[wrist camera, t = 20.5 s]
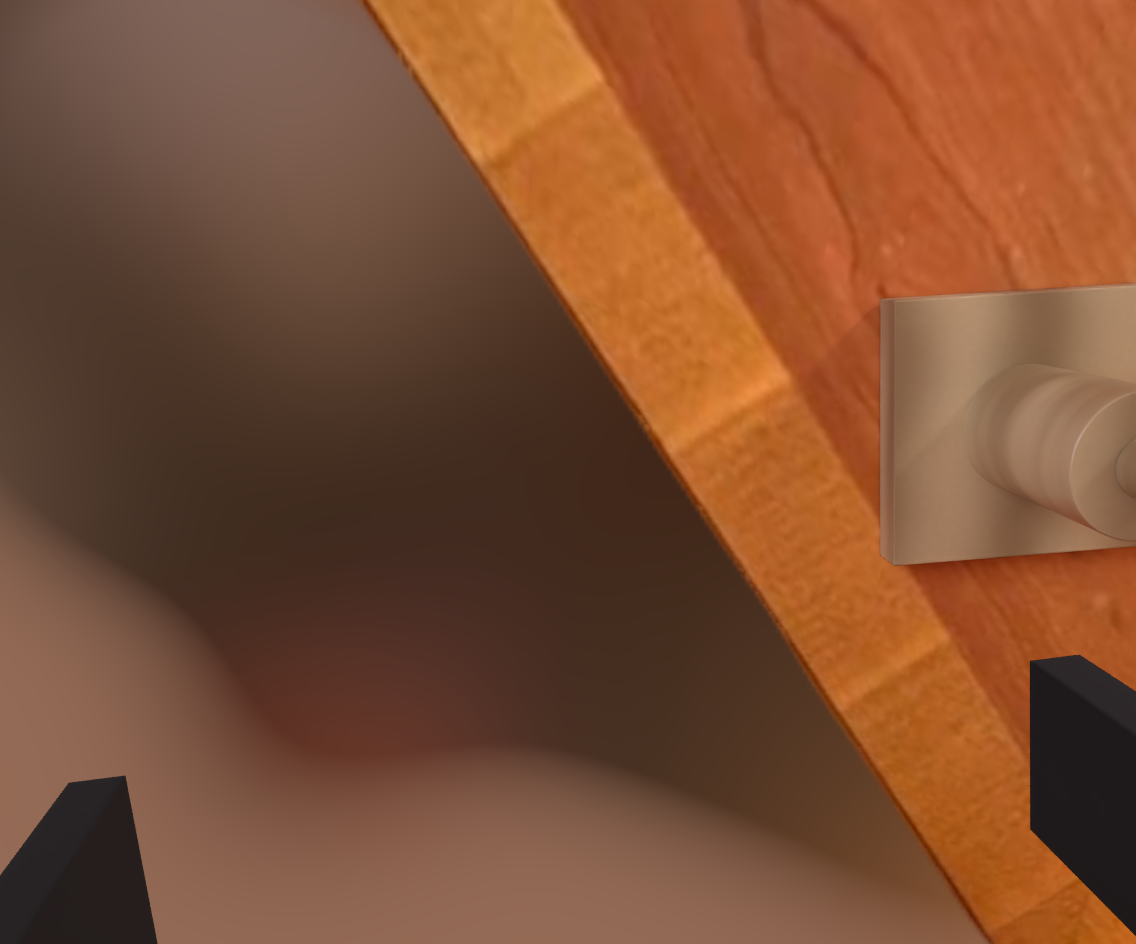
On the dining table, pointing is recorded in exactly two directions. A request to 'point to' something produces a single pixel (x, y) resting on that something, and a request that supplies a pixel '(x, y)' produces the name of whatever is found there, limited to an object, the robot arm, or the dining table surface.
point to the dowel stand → (1007, 423)
